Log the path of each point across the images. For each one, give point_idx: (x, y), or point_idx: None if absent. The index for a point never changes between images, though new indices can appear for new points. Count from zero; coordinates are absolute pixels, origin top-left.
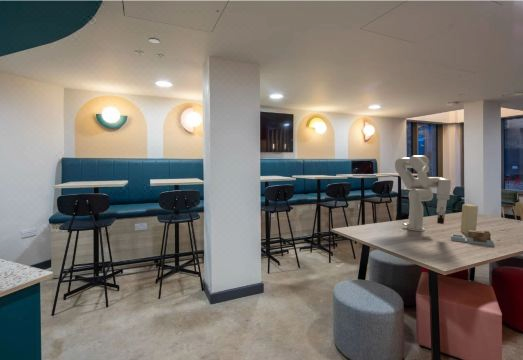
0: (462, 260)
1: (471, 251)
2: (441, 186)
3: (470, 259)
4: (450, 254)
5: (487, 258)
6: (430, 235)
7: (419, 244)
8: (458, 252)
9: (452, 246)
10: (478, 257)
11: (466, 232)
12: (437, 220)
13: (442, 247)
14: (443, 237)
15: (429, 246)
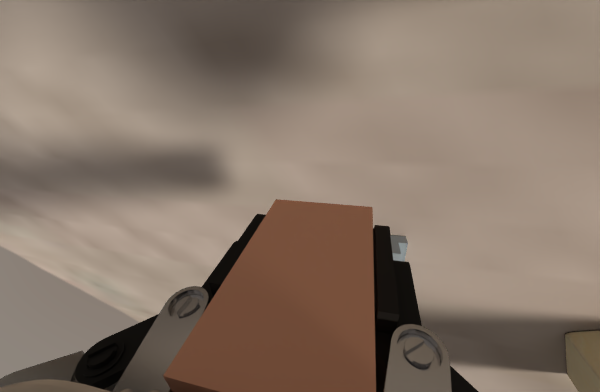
0: (6, 231)
1: (151, 279)
2: None
3: (44, 256)
4: (30, 200)
5: (108, 304)
6: (390, 86)
7: (34, 29)
8: (90, 232)
9: (166, 220)
10: (93, 283)
11: (574, 347)
12: (259, 230)
13: (103, 173)
14: (367, 189)
15: (55, 102)
